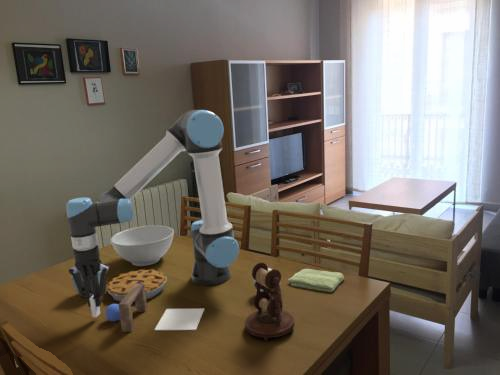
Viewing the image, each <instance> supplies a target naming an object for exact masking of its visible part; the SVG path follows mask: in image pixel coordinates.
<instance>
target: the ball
mask: <svg viewBox="0 0 500 375" xmlns="http://www.w3.org/2000/svg"><path fill="white" fill-rule="evenodd" d="M104 316H105V318H106V319H107V320H108V321H109V322H118V321H119V320H121V318H120V311H119V304H118V303H112V304H110V305H108V306H107V307H106V309H105V312H104Z"/></svg>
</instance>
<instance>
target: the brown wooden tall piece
mask: <svg viewBox="0 0 500 375" xmlns="http://www.w3.org/2000/svg"><path fill="white" fill-rule="evenodd" d="M268 268H269V267H268V265H267V264H266V263H265V262H258V263H256V264H255V265H254V266H253V268H252V271H251V276H252V278H253V279H254V280H256V282H255V286H254V288H255V290H256V289H257V290H256V295H255V296H254V298H253V306H254V307H255V308H256V309H257V310H256V311H253V312H252V313H250V314H249V315H248V316H247V317H246V318H245V320H244V328H245V330H246V331H247V333H249V334H250V335H252V336H255V337H258V338H263V340H264V342H267V341H268V339H271V338H279V337H281V336H284V335H287V334H288V333H290V332H291V331H293V330H294V326H295V318H294V317H293V315H292V314H291V313H290V312H287V311H286V310H283V307H284V306H283V305H284V304H283V296H282V289H281V285H280V284H279V283H280V281H282V280H281V279H282V274H281V271H280V270H278V269H276V268H273V269H272V270H270V271H268ZM253 279H252V280H253ZM260 289H261V290H263V291H260ZM269 294H270V295H269Z"/></svg>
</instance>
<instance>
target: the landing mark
mask: <svg viewBox="0 0 500 375" xmlns="http://www.w3.org/2000/svg"><path fill="white" fill-rule="evenodd" d="M204 312H205V308H166V309H165V311H164V313H163V314H162V316H161V318H160V319H159V321H158V323H157V325H156V326H155V327H154V331H196V330H197V329H198V326H199V324H200V321H201V318H202V317H203V313H204Z"/></svg>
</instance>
